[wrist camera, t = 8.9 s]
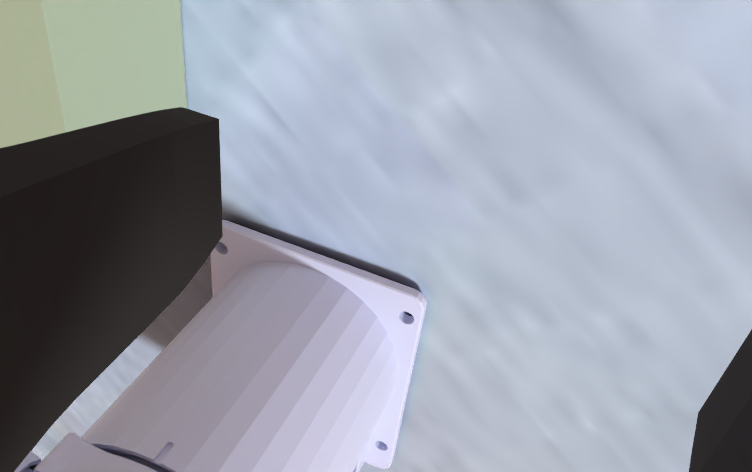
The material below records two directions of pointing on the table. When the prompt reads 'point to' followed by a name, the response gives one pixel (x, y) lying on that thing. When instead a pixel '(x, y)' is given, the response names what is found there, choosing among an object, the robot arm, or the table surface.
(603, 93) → the table surface
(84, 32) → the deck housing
